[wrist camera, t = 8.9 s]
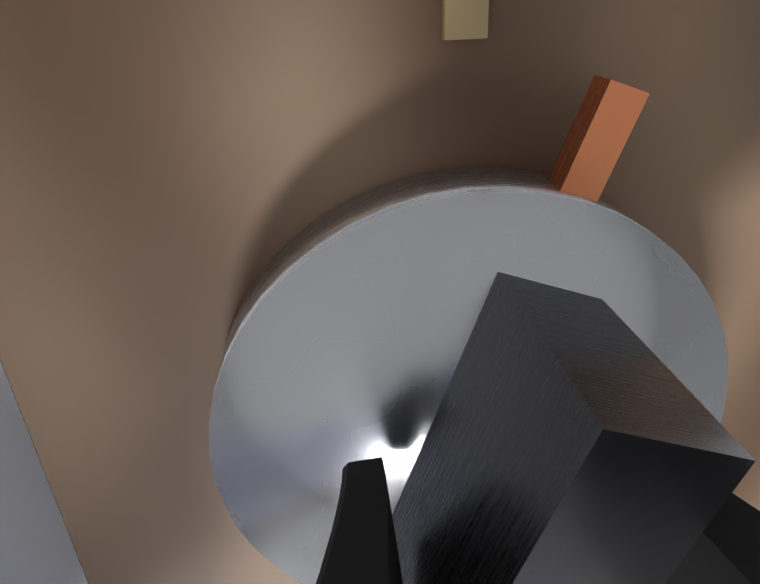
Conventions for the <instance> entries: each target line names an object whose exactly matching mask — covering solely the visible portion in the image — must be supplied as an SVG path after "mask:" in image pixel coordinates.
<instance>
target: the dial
mask: <svg viewBox="0 0 760 584" xmlns="http://www.w3.org/2000/svg"><path fill="white" fill-rule="evenodd" d="M649 94H650V93H647V92H645V91H642V90H639V89H636V88H634V87H631V86H628V85H625V84H622V83H620V82H617V81H614V80H611V79H608V78H604V77H601V76H597V75H594V77H593V79H592V81H591V84H590V86H589V88H588V90H587V93H586V95H585V97H584V99H583V102H582V104H581V106H580V108H579V111H578V113H577V115H576V117H575V120H574V122H573V124H572V126H571V129H570V131H569V133H568V135H567V138H566V140H565V142H564V144H563V147H562V149H561V151H560V154H559V156H558V158H557V160H556V163H555V165H554V167H553V169H552V172H551V174H550V176H546V175H542V174H537V173H533V172H529V171H524V170H515V169H504V168H493V167H479V168H456V169H447V170H442V171H436V172H430V173H425V174H419V175H414V176H411V177H408V178H405V179H401V180H398V181H395V182H392V183H388V184H385V185H382V186H379V187H377V188H375V189H373V190H370V191H368V192H366V193H364V194H362V195H359V196H357V197H355V198H353V199H351V200H348V201H346V202H345V203H343V204H342V205H340V206H338V207H337V208H335V209H333V210H332V211H330V212H329V213H327V214H325V215H324V216H322V217H321V218H319V219H317V220H316V221H315V222H313V223H312V224H311V225H310V226H308V227H307V228H306V229H305V230H304V231H302V232H301V233H300V234H299V235H297V236H296V237H295V238H294V239H292V240H291V241H290V242H289V243H288V244H287V245H286V246H285V247H284V248H283V249H282V250H281V251H280V252H279V254H278V255H277V256H276V257H275V258H274V259H273V260H272V261H271V262H270V263H269V264H268V265H267V266H266V268H265V269H264V270H263V272H262V273H261V275H260V276H259V278H258V279H257V280H256V282H255V283H254V285H253V286H252V287H251V289H250V290H249V292H248V293H247V295H246V297H245V299H244V301H243V303H242V305H241V307H240V309H239V311H238V313H237V315H236V317H235V319H234V321H233V324H232V327H231V330H230V333H229V336H228V339H227V342H226V346H225V349H224V353H223V357H222V361H221V365H220V369H219V373H218V377H217V381H216V385H215V389H214V393H213V399H212V406H211V412H210V419H209V454H210V459H211V464H212V469H213V475H214V479H215V482H216V485H217V487H218V490H219V493H220V495H221V498H222V501H223V503H224V505H225V507H226V509H227V510H228V512H229V514H230V516H231V517H232V519H233V521H234V523H235V524H236V526H237V527H238V529H239V530H240V531H241V532H242V534H243V535H244V536H245V537H246V538H247V540H248V541H249V542H250V543H251V545H252V546H253V547H254V548H255V549H256V550H257V551H258V552H260V553H261V554H262V555H263V556H264V557H265V558H266V559H267V560H268V561H269V562H270V563H271V564H273V565H274V566H276V567H277V568H279V569H280V570H281V571H283V572H284V573H286V574H287V575H289V576H290V577H291V578H293V579H295V580H297V581H298V582H300V583H302V584H316V581H317V578H318V575H319V572H320V569H321V565H322V562H323V558H324V555H325V551H326V548H327V544H328V541H329V537H330V534H331V530H332V526H333V522H334V518H335V514H336V509H337V505H338V500H339V494H340V488H341V481H342V470H343V468H344V466H345V465H346V464H347V463H348V462H354V461H359V460H365V459H371V458H377V457H383V462H384V468H385V474H386V480H387V486H388V492H389V498H390V505H391V511H392V517H393V523H394V529H395V535H396V542H397V548H398V554H399V561H400V567H401V574H402V580H403V584H665V583H666V581H667V580H668V579H669V577H670V576H671V575H672V573H673V572H674V571H675V569H676V568H677V567H678V565H679V564H680V563H681V561H682V560H683V558H684V557H685V556H686V554H687V553H688V552H689V550H690V549H691V548H692V546H693V545H694V544H695V542H696V541H697V540H698V538H699V537H700V535H701V534H702V533H703V531H704V530H705V529H706V527H707V526H708V525H709V523H710V522H711V521H712V519H713V518H714V517H715V515H716V514H717V513H718V511H719V510H720V508H721V507H722V506H723V504H724V503H725V502H726V500H727V499H728V498H729V496H730V495H731V494H732V492H733V491H734V490H735V488H736V487H737V486H738V484H739V483H740V481H741V480H742V479H743V477H744V476H745V475H746V473H747V472H748V471H749V469H750V468H751V467H752V465H753V464H754V463H755V461H756V460H755V459H754V458H753V457H752V456H751V455H750V454H749V453H748V452H747V451H746V450H745V449H744V448H743V447H742V446H741V444H740V443H739V442H738V441H737V440H736V439H735V438H734V437H733V436H732V435H731V434H730V433H729V432H728V431H727V430H726V429H725V428H724V427H723V426H722V425H721V423H720V422H721V419H722V416H723V412H724V408H725V402H726V395H727V389H728V353H727V347H726V341H725V336H724V330H723V327H722V324H721V321H720V319H719V316H718V313H717V310H716V308H715V305H714V302H713V301H712V299H711V297H710V296H709V294H708V292H707V290H706V289H705V287H704V285H703V284H702V282H701V280H700V279H699V277H698V276H697V275H696V274H695V272H694V271H693V270H692V269H691V268H690V267H689V265H688V264H687V263H686V262H685V261H684V260H683V258H682V257H681V256H680V255H679V254H678V253H677V252H676V251H674V250H673V249H672V248H671V247H669V246H668V245H667V244H666V243H665V242H663V241H662V240H661V239H660V238H658V237H657V236H656V235H655V234H654V233H652V232H651V231H649V230H648V229H646V228H645V227H644V226H642V225H641V224H639V223H638V222H636V221H635V220H634V219H632V218H631V217H629V216H628V215H626V214H625V213H624V212H622V211H621V210H619V209H618V208H616V207H615V206H614V205H612V204H610V203H609V202H607V201H605V200H603V199H602V198H600V195H601V193H602V191H603V189H604V187H605V185H606V183H607V181H608V179H609V177H610V174H611V172H612V170H613V168H614V166H615V164H616V162H617V160H618V158H619V156H620V154H621V152H622V150H623V148H624V146H625V144H626V142H627V139H628V137H629V135H630V133H631V131H632V129H633V127H634V125H635V123H636V121H637V119H638V117H639V115H640V113H641V111H642V109H643V107H644V104H645V102H646V100H647V98H648V96H649Z"/></svg>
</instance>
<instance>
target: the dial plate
mask: <svg viewBox="0 0 760 584" xmlns="http://www.w3.org/2000/svg"><path fill="white" fill-rule="evenodd" d="M594 75H597V76H601V77H604V78H608V79H611V80H614V81H617V82H620V83H622V84H625V85H628V86H631V87H634V88H636V89H639V90H642V91H645V92H647V93H650V94H649V96H648V98H647V100H646V102H645V104H644V107H643V109H642V111H641V113H640V115H639V117H638V119H637V121H636V123H635V125H634V127H633V129H632V131H631V133H630V135H629V137H628V139H627V142H626V144H625V146H624V148H623V150H622V152H621V154H620V156H619V158H618V160H617V162H616V164H615V166H614V168H613V170H612V172H611V174H610V177H609V179H608V181H607V183H606V185H605V187H604V189H603V191H602V193H601V195H600V198H602V199H603V200H605V201H607V202H609V203H610V204H612V205H614V206H615V207H616V208H618V209H619V210H621V211H622V212H624V213H625V214H626V215H628V216H629V217H631V218H632V219H634V220H635V221H636V222H638V223H639V224H641V225H642V226H644V227H645V228H646V229H648V230H649V231H651V232H652V233H654V234H655V235H656V236H657V237H658V238H660V239H661V240H662V241H663V242H665V243H666V244H667V245H668V246H669V247H671V248H672V249H673V250H674V251H676V252H677V253H678V254H679V255H680V256H681V257H682V258H683V260H684V261H685V262H686V263H687V264H688V265H689V267H690V268H691V269H692V270H693V271H694V272H695V274H696V275H697V276H698V277H699V279H700V280H701V282H702V284H703V285H704V287H705V289H706V290H707V292H708V294H709V296H710V297H711V299H712V301H713V302H714V305H715V308H716V310H717V313H718V316H719V319H720V321H721V324H722V327H723V330H724V336H725V341H726V347H727V353H728V389H727V395H726V402H725V408H724V412H723V416H722V419H721V422H720V423H721V425H722V426H723V427H724V428H725V429H726V430H727V431H728V432H729V433H730V434H731V435H732V436H733V437H734V438H735V439H736V440H737V441H738V442H739V443H740V444H741V446H742V447H743V448H744V449H745V450H746V451H747V452H748V453H749V454H750V455H751V456H752V457H753V458H754V459H755V460H756V461H755V463H754V464H753V465H752V467H751V468H750V469H749V471H748V472H747V473H746V475H745V476H744V477H743V479H742V480H741V481H740V483H739V484H738V486H737V487H736V488H735V490H734V491H733V492H732V493H733V494H735V495H736V496H738V497H739V498H741V499H742V500H744V501H745V502H747V503H748V504H750V505H751V506H753V507H754V508H756V509H757V510H759V511H760V0H0V360H1V363H2V365H3V368H4V371H5V373H6V376H7V378H8V381H9V383H10V386H11V388H12V391H13V393H14V396H15V398H16V401H17V404H18V406H19V409H20V411H21V414H22V416H23V419H24V421H25V424H26V426H27V429H28V432H29V434H30V437H31V439H32V442H33V444H34V447H35V449H36V452H37V454H38V457H39V459H40V462H41V465H42V467H43V470H44V472H45V475H46V477H47V480H48V482H49V485H50V487H51V490H52V492H53V495H54V498H55V500H56V503H57V505H58V508H59V510H60V513H61V515H62V518H63V520H64V523H65V526H66V528H67V531H68V533H69V536H70V538H71V541H72V543H73V546H74V548H75V551H76V553H77V556H78V559H79V561H80V564H81V566H82V569H83V571H84V574H85V576H86V579H87V581H88V584H302V583H300V582H298V581H297V580H295V579H293V578H291V577H290V576H289V575H287V574H286V573H284V572H283V571H281V570H280V569H279V568H277V567H276V566H274V565H273V564H271V563H270V562H269V561H268V560H267V559H266V558H265V557H264V556H263V555H262V554H261V553H260V552H258V551H257V550H256V549H255V548H254V547H253V546H252V545H251V543H250V542H249V541H248V540H247V538H246V537H245V536H244V535H243V534H242V532H241V531H240V530H239V529H238V527H237V526H236V524H235V523H234V521H233V519H232V517H231V516H230V514H229V512H228V510H227V509H226V507H225V505H224V503H223V501H222V498H221V495H220V493H219V490H218V487H217V485H216V482H215V479H214V475H213V469H212V464H211V459H210V454H209V419H210V412H211V406H212V399H213V393H214V389H215V385H216V381H217V377H218V373H219V369H220V365H221V361H222V357H223V353H224V349H225V346H226V342H227V339H228V336H229V333H230V330H231V327H232V324H233V321H234V319H235V317H236V315H237V313H238V311H239V309H240V307H241V305H242V303H243V301H244V299H245V297H246V295H247V293H248V292H249V290H250V289H251V287H252V286H253V285H254V283H255V282H256V280H257V279H258V278H259V276H260V275H261V273H262V272H263V270H264V269H265V268H266V266H267V265H268V264H269V263H270V262H271V261H272V260H273V259H274V258H275V257H276V256H277V255H278V254H279V252H280V251H281V250H282V249H283V248H284V247H285V246H286V245H287V244H288V243H289V242H290V241H291V240H292V239H294V238H295V237H296V236H297V235H299V234H300V233H301V232H302V231H304V230H305V229H306V228H307V227H308V226H310V225H311V224H312V223H313V222H315V221H316V220H317V219H319V218H321V217H322V216H324V215H325V214H327V213H329V212H330V211H332V210H333V209H335V208H337V207H338V206H340V205H342V204H343V203H345V202H346V201H348V200H351V199H353V198H355V197H357V196H359V195H362V194H364V193H366V192H368V191H370V190H373V189H375V188H377V187H379V186H382V185H385V184H388V183H392V182H395V181H398V180H401V179H405V178H408V177H411V176H414V175H419V174H425V173H430V172H436V171H442V170H447V169H456V168H479V167H493V168H504V169H515V170H524V171H529V172H533V173H537V174H542V175H546V176H550V174H551V172H552V169H553V167H554V165H555V163H556V160H557V158H558V156H559V154H560V151H561V149H562V147H563V144H564V142H565V140H566V138H567V135H568V133H569V131H570V129H571V126H572V124H573V122H574V120H575V117H576V115H577V113H578V111H579V108H580V106H581V104H582V102H583V99H584V97H585V95H586V93H587V90H588V88H589V86H590V84H591V81H592V79H593V77H594Z"/></svg>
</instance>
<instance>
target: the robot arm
mask: <svg viewBox="0 0 760 584" xmlns="http://www.w3.org/2000/svg"><path fill="white" fill-rule="evenodd" d="M316 584H403V580H402V574H401V567H400V561H399V554H398V548H397V542H396V535H395V529H394V523H393V517H392V511H391V505H390V498H389V492H388V486H387V480H386V474H385V468H384V462H383V457H377V458H371V459H365V460H359V461H354V462H348V463H347V464H346V465H345V466H344V468H343V470H342V481H341V488H340V494H339V500H338V505H337V509H336V514H335V518H334V522H333V526H332V530H331V534H330V537H329V541H328V544H327V548H326V551H325V555H324V558H323V562H322V565H321V569H320V572H319V575H318V578H317V581H316ZM665 584H760V511H759V510H757V509H756V508H754V507H753V506H751V505H750V504H748V503H747V502H745V501H744V500H742V499H741V498H739V497H738V496H736V495H735V494H733V493H732V494H731V495H730V496H729V498H728V499H727V500H726V502H725V503H724V504H723V506H722V507H721V508H720V510H719V511H718V513H717V514H716V515H715V517H714V518H713V519H712V521H711V522H710V523H709V525H708V526H707V527H706V529H705V530H704V531H703V533H702V534H701V535H700V537H699V538H698V540H697V541H696V542H695V544H694V545H693V546H692V548H691V549H690V550H689V552H688V553H687V554H686V556H685V557H684V558H683V560H682V561H681V563H680V564H679V565H678V567H677V568H676V569H675V571H674V572H673V573H672V575H671V576H670V577H669V579H668V580H667V581H666V583H665Z"/></svg>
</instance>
